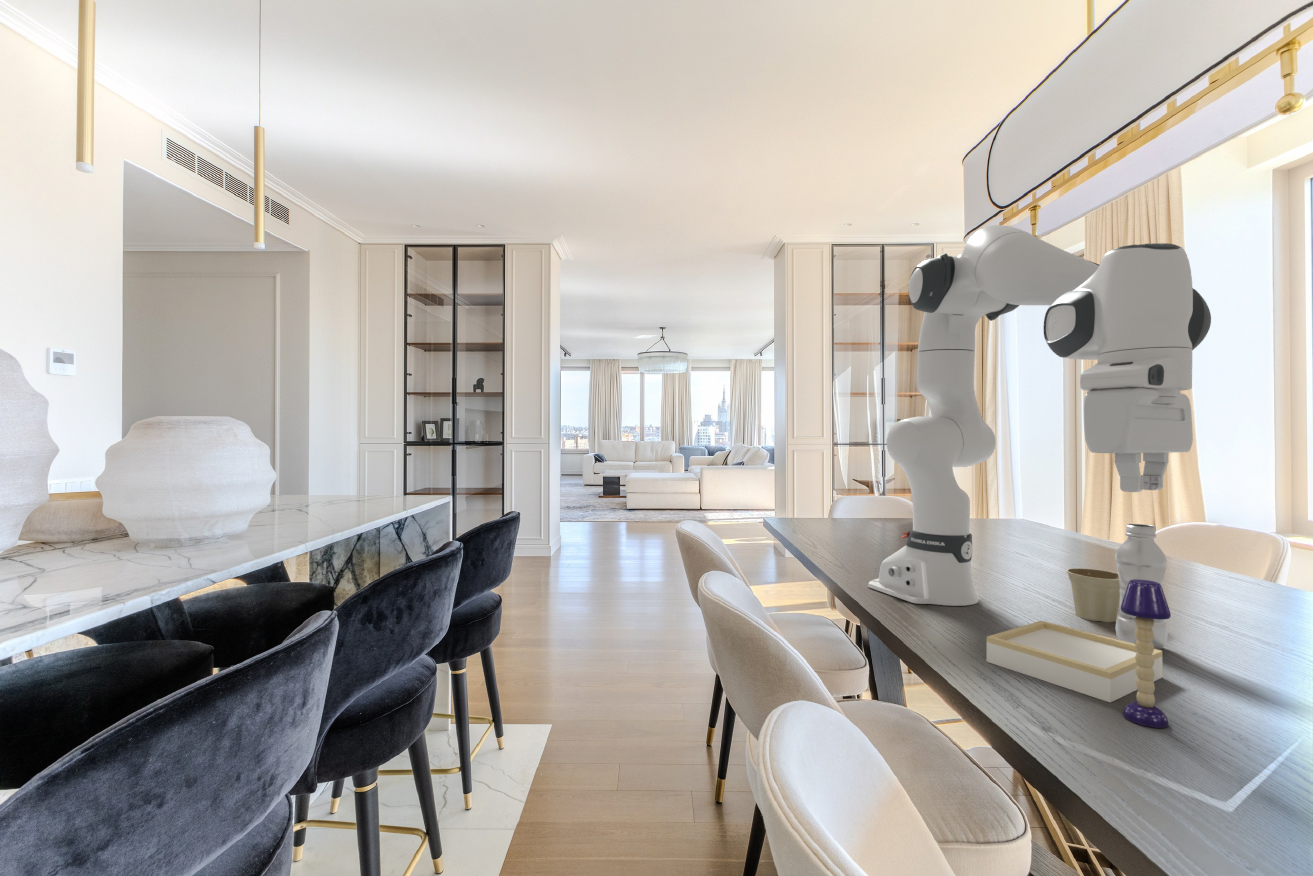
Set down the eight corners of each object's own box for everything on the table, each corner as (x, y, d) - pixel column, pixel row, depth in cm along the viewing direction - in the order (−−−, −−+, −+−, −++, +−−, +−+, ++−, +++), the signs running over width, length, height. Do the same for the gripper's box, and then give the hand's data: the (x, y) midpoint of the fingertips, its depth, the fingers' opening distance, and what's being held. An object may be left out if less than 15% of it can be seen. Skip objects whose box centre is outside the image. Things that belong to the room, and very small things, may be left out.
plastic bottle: (1178, 656, 91) (1178, 529, 91) (1128, 653, 92) (1129, 527, 93) (1152, 642, 97) (1152, 523, 98) (1106, 639, 99) (1106, 522, 99)
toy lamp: (1111, 709, 73) (1111, 576, 73) (1151, 711, 73) (1151, 577, 73) (1139, 727, 68) (1139, 585, 68) (1182, 730, 68) (1182, 587, 68)
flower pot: (1131, 619, 110) (1131, 573, 110) (1123, 630, 104) (1124, 581, 104) (1071, 608, 117) (1071, 565, 117) (1061, 618, 111) (1061, 573, 111)
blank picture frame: (986, 661, 89) (986, 636, 89) (1041, 643, 97) (1041, 620, 97) (1110, 702, 75) (1110, 673, 75) (1162, 677, 83) (1162, 650, 83)
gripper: (1147, 383, 78) (1146, 485, 78) (1072, 374, 68) (1071, 492, 68) (1209, 379, 73) (1208, 489, 73) (1138, 368, 63) (1136, 497, 63)
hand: (1141, 490), depth 70 cm, fingers open, 4 cm apart
